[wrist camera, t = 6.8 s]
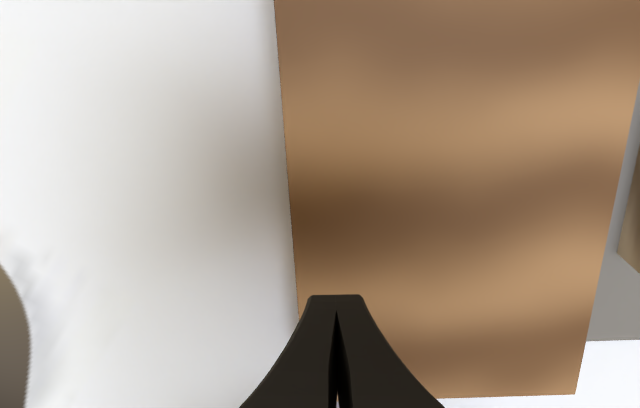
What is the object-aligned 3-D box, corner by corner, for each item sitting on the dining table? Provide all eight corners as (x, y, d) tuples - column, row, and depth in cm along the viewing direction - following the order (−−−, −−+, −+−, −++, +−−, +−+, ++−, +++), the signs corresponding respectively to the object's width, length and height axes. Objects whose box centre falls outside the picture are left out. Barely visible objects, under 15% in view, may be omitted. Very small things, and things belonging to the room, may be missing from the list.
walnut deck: (538, 336, 26) (574, 394, 22) (308, 344, 26) (305, 402, 22) (600, -54, 18) (669, -65, 15) (281, -37, 19) (270, -43, 15)
